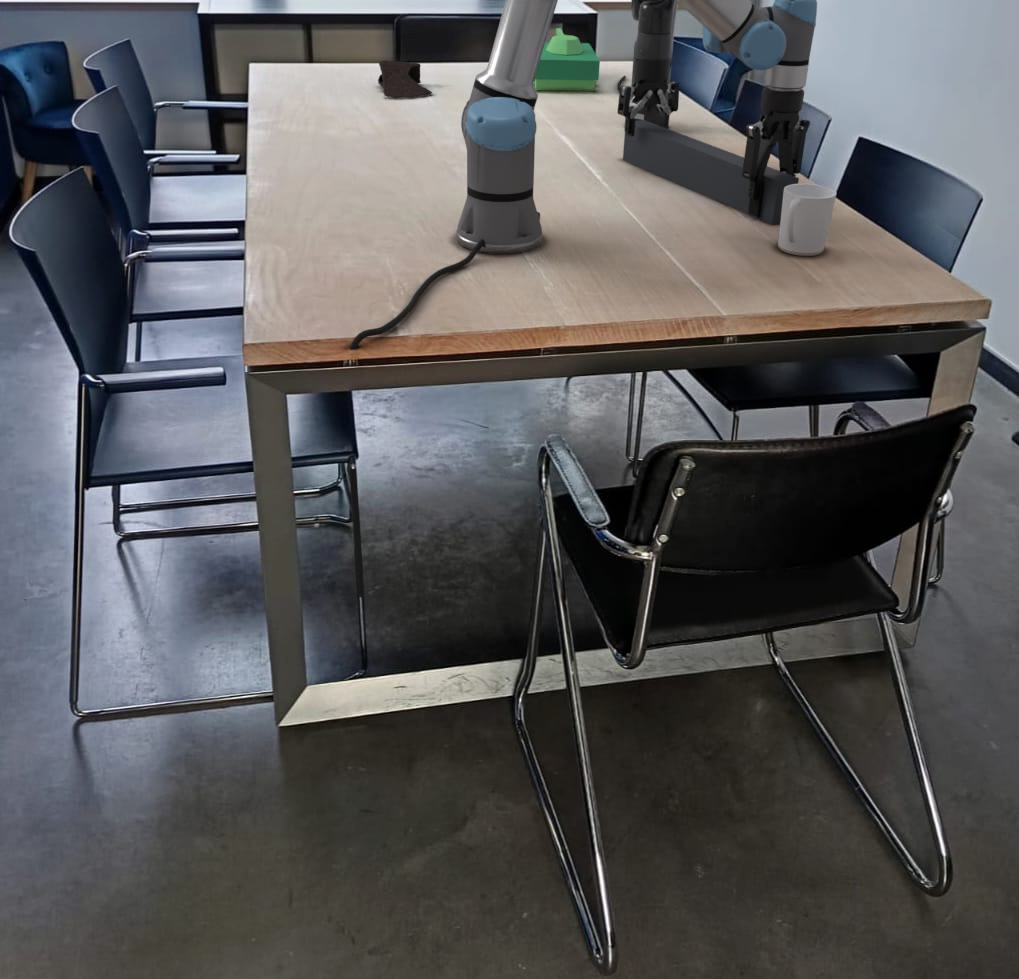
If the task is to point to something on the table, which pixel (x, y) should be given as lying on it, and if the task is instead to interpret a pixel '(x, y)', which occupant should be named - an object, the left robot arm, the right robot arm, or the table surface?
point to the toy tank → (567, 65)
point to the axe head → (401, 79)
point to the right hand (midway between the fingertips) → (646, 134)
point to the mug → (805, 218)
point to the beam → (703, 168)
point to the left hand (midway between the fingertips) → (765, 212)
